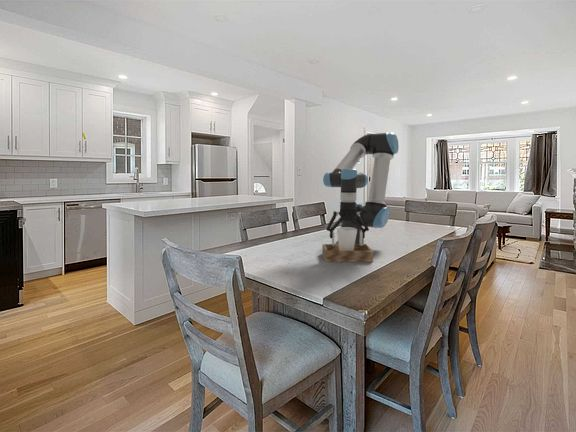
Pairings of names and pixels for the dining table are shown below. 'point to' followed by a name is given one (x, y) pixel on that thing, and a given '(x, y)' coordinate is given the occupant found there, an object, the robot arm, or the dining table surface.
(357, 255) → the walnut box
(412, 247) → the dining table surface
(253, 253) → the dining table surface
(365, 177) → the robot arm
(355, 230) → the foam cup
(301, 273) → the dining table surface
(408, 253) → the dining table surface
